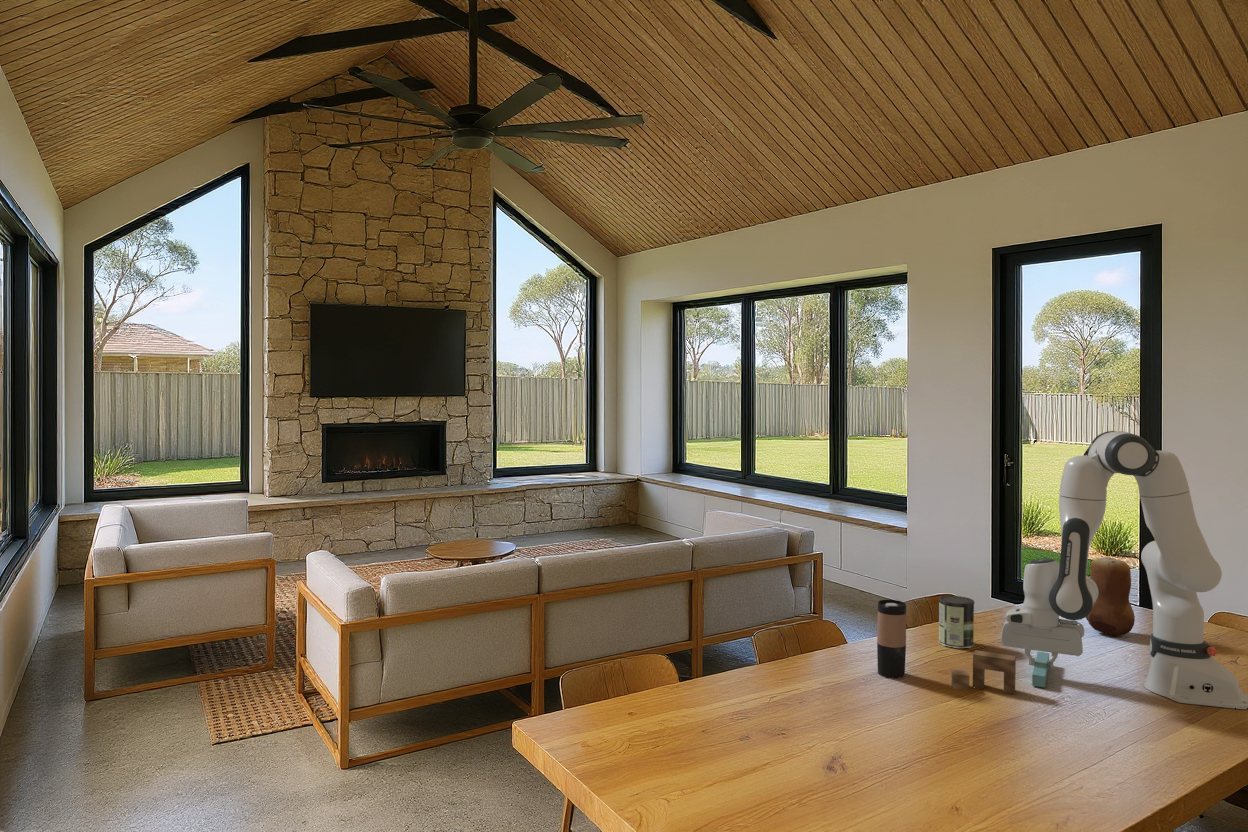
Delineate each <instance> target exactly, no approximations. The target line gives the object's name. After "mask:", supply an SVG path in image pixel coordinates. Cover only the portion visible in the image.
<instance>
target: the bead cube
mask: <svg viewBox="0 0 1248 832" xmlns="http://www.w3.org/2000/svg"><path fill="white" fill-rule="evenodd" d="M969 674H970V673H969V671H968V670H963V669H962V670H961V669H950V685H951V687H953V688H952V690H958V689H966V690H965V691H970V675H969Z"/></svg>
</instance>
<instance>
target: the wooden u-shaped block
mask: <svg viewBox="0 0 1248 832" xmlns="http://www.w3.org/2000/svg"><path fill="white" fill-rule="evenodd" d="M1016 659H1017V655H1010V654H1003V653H996V652H992V651H991V652H989V651H982V650H977V649H975V650H974V651H973V654H972V688H973V687H975V688H974V689H977V688H979V689H978V690H984V687H985V675H986V674H985V670H986V671H987V670H988V671H994V672H1001V673H1003V694H1007V693H1009V694H1008V695H1012V694H1014V695H1015V693H1016V674H1017V673H1016V672H1017V671H1016V667H1017V666H1016V663H1017V660H1016Z"/></svg>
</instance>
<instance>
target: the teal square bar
mask: <svg viewBox="0 0 1248 832" xmlns="http://www.w3.org/2000/svg"><path fill="white" fill-rule="evenodd" d="M1036 652H1037V654H1036V656H1035V665H1034V666H1033V669H1032V674H1031V675H1032V676H1031V677H1032V678H1031V686H1033V687H1038V688H1044V689H1045V688H1046V683H1047V678H1048V674H1049V673H1048V672H1049V668H1047V660H1050V652H1044V651H1036Z"/></svg>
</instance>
